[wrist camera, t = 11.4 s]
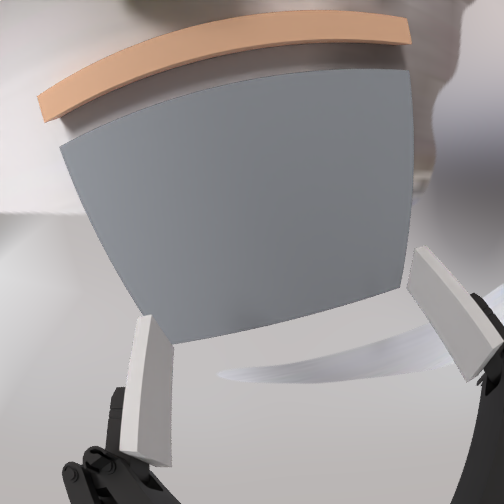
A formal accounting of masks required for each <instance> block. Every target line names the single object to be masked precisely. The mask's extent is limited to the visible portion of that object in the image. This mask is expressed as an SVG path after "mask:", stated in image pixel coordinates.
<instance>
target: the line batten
mask: <svg viewBox="0 0 504 504" xmlns="http://www.w3.org/2000/svg"><path fill="white" fill-rule="evenodd" d="M335 42H347V43H374V44H388V45H407V44H412V42H411V36H410V31H409V26H408V22H407V18H402V17H396V16H390V15H383V14H375V13H366V12H354V11H336V10H300V11H282V12H271V13H261V14H253V15H246V16H239V17H233V18H228V19H223V20H218V21H213V22H208V23H204V24H200V25H196V26H192V27H188V28H184V29H181V30H177V31H174V32H171V33H167V34H164V35H161V36H158V37H155V38H152V39H150V40H147V41H144V42H141V43H139V44H136V45H134V46H131V47H129V48H126V49H124V50H121V51H119V52H117V53H114V54H112V55H110V56H108V57H106V58H103V59H101V60H99V61H97V62H95V63H93V64H91V65H89V66H87V67H85V68H83V69H82V70H80V71H78V72H76V73H74V74H72V75H71V76H69V77H67V78H65V79H64V80H62V81H60V82H59V83H57V84H55V85H54V86H52V87H51V88H49V89H48V90H46V91H44V92H43V93H41V94H40V95H38V96H37V97H38V101H39V105H40V109H41V112H42V116H43V119H44V122H45V123H46V122H49V121H51V120H54V119H57V118H60V117H62V116H63V115H65V114H67V113H69V112H71V111H72V110H74V109H76V108H78V107H80V106H82V105H84V104H86V103H88V102H90V101H92V100H94V99H96V98H98V97H100V96H102V95H105V94H107V93H109V92H111V91H113V90H116V89H118V88H120V87H123V86H125V85H128V84H130V83H133V82H135V81H138V80H140V79H143V78H146V77H149V76H151V75H154V74H157V73H160V72H163V71H166V70H169V69H172V68H176V67H179V66H182V65H186V64H189V63H193V62H197V61H201V60H205V59H209V58H213V57H217V56H222V55H226V54H231V53H236V52H242V51H247V50H254V49H260V48H267V47H275V46H284V45H294V44H308V43H335Z"/></svg>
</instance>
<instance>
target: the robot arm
mask: <svg viewBox="0 0 504 504" xmlns="http://www.w3.org/2000/svg"><path fill="white" fill-rule="evenodd" d="M407 290H408V291H409V292H410V294H411V295H412V297H413V298H414V300H415V301H416V302H417V304H418V305H419V307H420V308H421V310H422V311H423V313H424V314H425V315H426V317H427V318H428V320H429V322H430V323H431V325H432V326H433V328H434V329H435V331H436V332H437V334H438V335H439V337H440V339H441V340H442V342H443V343H444V345H445V347H446V348H447V350H448V352H449V353H450V355H451V357H452V358H453V360H454V362H455V363H456V365H457V367H458V369H459V370H460V372H461V374H462V376H463V377H464V379H465V381H466V382H469V381H470V380H472V379H473V378H475V377H476V376H478V375H479V373H480V372H481V371H482V370H483V369H484V371H485V373H484V374H483V375H482V376H481V378H480V379H479V380H478V381H477V385H479V384H480V383H481V382H482V381H483V382H482V384H481V386H482V390H481V397H480V403H479V409H478V415H477V420H476V425H475V429H474V434H473V438H472V442H471V446H470V449H469V453H468V456H467V460H466V463H465V466H464V469H463V472H462V475H461V478H460V481H459V483H458V486H457V489H456V491H455V494H454V496H453V499H452V501H451V503H450V504H504V326H503V325H502V323H501V322H500V321H499V319H498V318H497V316H496V315H495V314H493V311H492V310H491V309H490V308H489V307H488V305H487V304H486V302H485V301H484V300H483V299H482V298H481V297H480V296H478V295H477V294H475V293H472V294H470V295H469V293H468V292H467V291H466V290H465V289H464V287H463V286H462V285H461V284H460V283H459V281H458V280H457V279H456V278H455V277H454V276H453V274H452V273H451V272H450V271H449V270H448V269H447V268H446V266H445V265H444V264H443V263H442V262H441V261H440V260H439V259H438V258H437V257H436V256H435V255H434V254H433V253H432V251H431V250H430V249H429V248H428V247H427V246H426V245H425V246H422V247H419V248H415V249H414V255H413V260H412V265H411V270H410V275H409V279H408V284H407ZM173 355H174V347H173V346H172V344H171V343H170V341H169V340H168V339H167V337H166V336H165V334H164V333H163V331H162V330H161V328H160V327H159V325H158V324H157V322H156V321H155V319H154V317H153V316H152V315H146V316H141V317H138V319H137V323H136V329H135V334H134V339H133V344H132V350H131V356H130V361H129V368H128V374H127V381H126V387H117V388H116V390H115V392H114V394H113V396H112V398H111V405H110V409H111V410H110V412H109V420H108V429H107V439H106V448H105V449H103V448H101V447H98V446H92V447H90V448H88V449H87V450H86V451H85V453H84V456H83V464H82V465H80V464H78V463H75V462H68V463H67V464H65V466H64V467H63V471H62V476H63V481H64V484H65V487H66V490H67V494H68V497H69V499H70V502H71V504H181V503H180V502H179V501H178V500H177V499H176V498H175V497H174V496H173V495H172V494H171V493H170V492H169V491H168V489H167V488H166V487H165V486H164V485H163V484H162V483H161V482H160V481H159V479H158V478H157V477H156V476H155V475H154V474H153V472H152V471H150V470H149V464H150V465H153V466H155V467H172V455H171V408H172V407H171V406H172V376H173V375H172V373H173Z"/></svg>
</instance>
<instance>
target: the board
mask: <svg viewBox="0 0 504 504" xmlns="http://www.w3.org/2000/svg"><path fill="white" fill-rule="evenodd" d="M60 150H61V153H62V155H63V158H64V161H65V164H66V166H67V169H68V171H69V174H70V176H71V179H72V181H73V184H74V186H75V188H76V191H77V193H78V195H79V198H80V200H81V202H82V204H83V207H84V209H85V211H86V213H87V215H88V217H89V219H90V222H91V223H92V226H93V228H94V230H95V232H96V234H97V236H98V238H99V240H100V242H101V244H102V246H103V247H104V249H105V251H106V253H107V255H108V257H109V259H110V261H111V262H112V264H113V266H114V268H115V270H116V271H117V273H118V275H119V277H120V278H121V280H122V282H123V283H124V285H125V287H126V289H127V290H128V292H129V293H130V295H131V297H132V298H133V300H134V302H135V303H136V305H137V306H138V308H139V310H140V311H141V313H142V314H143V316H146V315H152V316H153V317H154V319H155V321H156V322H157V324H158V325H159V327H160V328H161V330H162V331H163V333H164V334H165V336H166V337H167V339H168V340H169V341H170V343H171V344H178V343H183V342H190V341H195V340H201V339H206V338H211V337H217V336H221V335H226V334H231V333H236V332H241V331H245V330H250V329H255V328H259V327H263V326H268V325H272V324H276V323H280V322H284V321H288V320H292V319H296V318H300V317H304V316H308V315H311V314H315V313H318V312H322V311H325V310H329V309H333V308H336V307H340V306H343V305H347V304H350V303H353V302H356V301H360V300H363V299H366V298H369V297H373V296H376V295H379V294H382V293H385V292H388V291H391V290H394V289H397V288H400V284H401V279H402V273H403V268H404V262H405V255H406V249H407V241H408V233H409V225H410V216H411V205H412V191H413V170H414V127H413V106H412V93H411V83H410V74H409V70H393V69H337V70H320V71H308V72H298V73H290V74H282V75H275V76H268V77H262V78H256V79H251V80H245V81H240V82H236V83H231V84H226V85H222V86H218V87H214V88H209V89H206V90H202V91H198V92H194V93H191V94H187V95H184V96H180V97H177V98H174V99H171V100H168V101H165V102H162V103H159V104H156V105H153V106H150V107H147V108H144V109H142V110H139V111H136V112H134V113H131V114H129V115H126V116H124V117H121V118H119V119H116V120H114V121H112V122H109V123H107V124H105V125H102V126H100V127H98V128H96V129H94V130H92V131H89V132H87V133H85V134H83V135H81V136H79V137H77V138H75V139H73V140H71V141H69V142H68V143H66V144H64V145H62V146H60Z"/></svg>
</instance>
